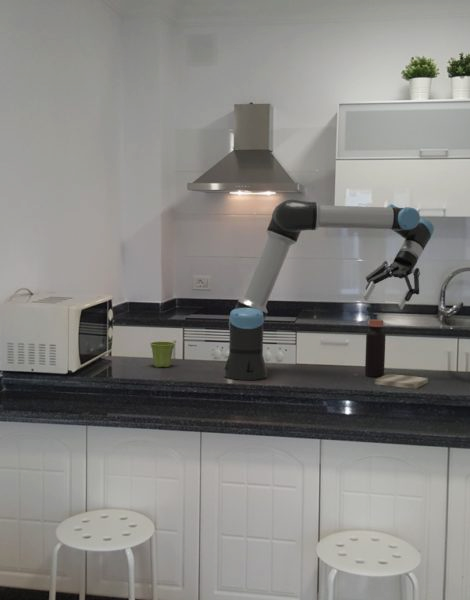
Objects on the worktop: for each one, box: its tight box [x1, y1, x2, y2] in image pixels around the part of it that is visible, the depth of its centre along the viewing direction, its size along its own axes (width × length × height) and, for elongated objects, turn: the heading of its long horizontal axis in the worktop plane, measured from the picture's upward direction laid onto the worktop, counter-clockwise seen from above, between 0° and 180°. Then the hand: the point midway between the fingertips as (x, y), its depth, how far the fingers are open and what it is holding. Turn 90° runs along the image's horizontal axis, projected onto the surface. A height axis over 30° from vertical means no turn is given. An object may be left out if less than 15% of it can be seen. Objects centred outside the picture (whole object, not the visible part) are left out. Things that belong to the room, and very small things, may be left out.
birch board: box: [374, 373, 429, 390], centre depth 240 cm, size 14×14×2 cm
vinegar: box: [364, 319, 386, 378], centre depth 253 cm, size 7×7×20 cm
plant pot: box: [149, 341, 176, 368], centre depth 265 cm, size 9×9×9 cm
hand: (382, 302), depth 247 cm, fingers open, 13 cm apart
